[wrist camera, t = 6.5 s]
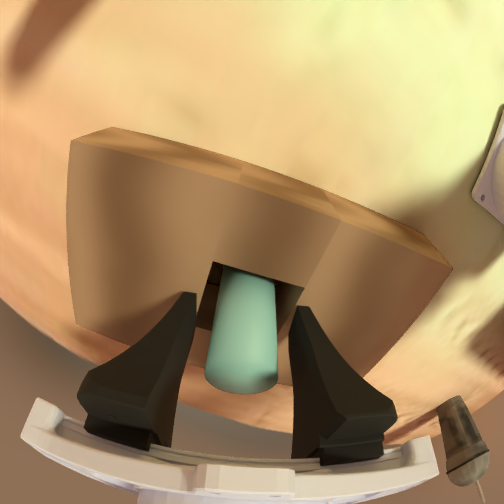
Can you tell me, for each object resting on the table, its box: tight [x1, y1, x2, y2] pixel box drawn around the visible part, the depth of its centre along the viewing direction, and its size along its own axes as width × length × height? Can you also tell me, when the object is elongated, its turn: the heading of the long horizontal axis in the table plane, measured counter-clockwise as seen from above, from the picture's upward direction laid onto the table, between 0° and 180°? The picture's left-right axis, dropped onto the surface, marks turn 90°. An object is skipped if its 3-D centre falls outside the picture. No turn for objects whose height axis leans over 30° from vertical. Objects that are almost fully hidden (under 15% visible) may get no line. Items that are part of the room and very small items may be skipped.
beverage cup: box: [437, 396, 490, 504], centre depth 22 cm, size 7×7×20 cm
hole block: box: [66, 127, 453, 386], centre depth 16 cm, size 20×12×4 cm, turn 71°
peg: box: [205, 265, 278, 394], centre depth 14 cm, size 3×3×8 cm
